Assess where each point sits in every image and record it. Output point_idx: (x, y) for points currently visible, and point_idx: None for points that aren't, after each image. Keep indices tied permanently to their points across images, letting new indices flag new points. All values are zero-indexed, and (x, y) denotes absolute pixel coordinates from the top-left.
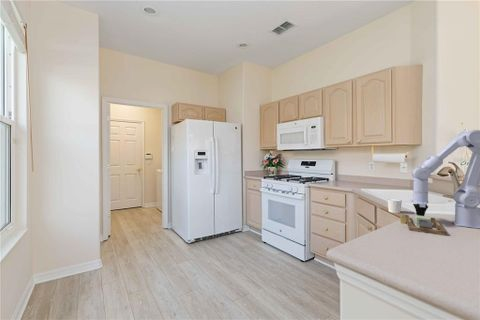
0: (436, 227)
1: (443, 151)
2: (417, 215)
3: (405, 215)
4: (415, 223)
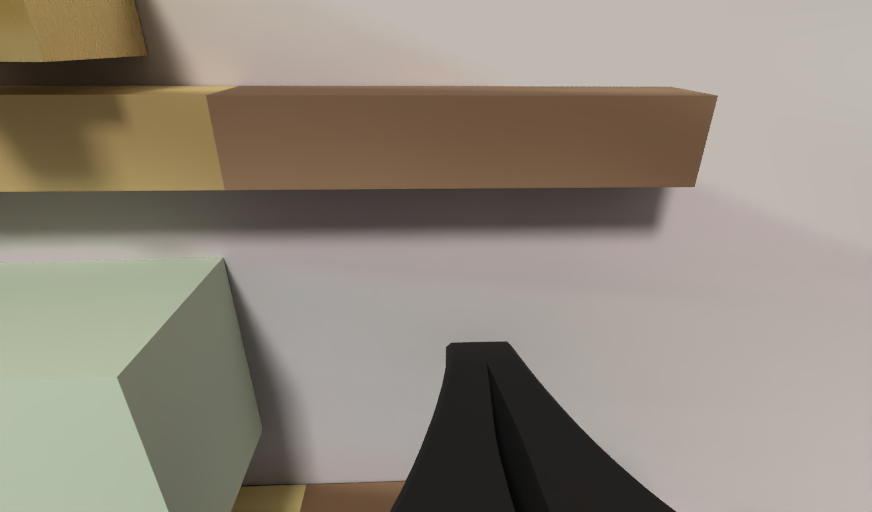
0: None
1: None
2: (119, 423)
3: (606, 108)
4: (171, 260)
